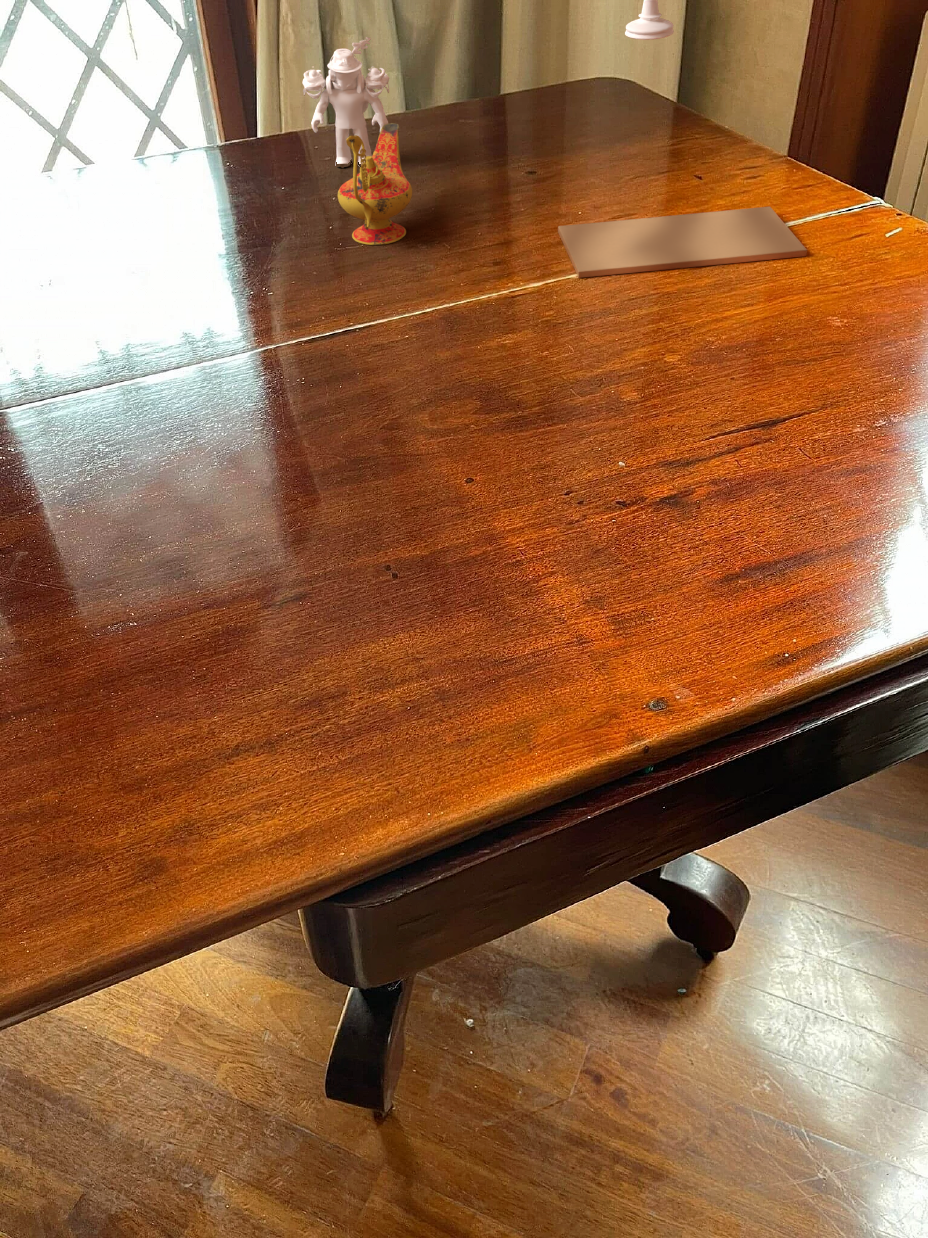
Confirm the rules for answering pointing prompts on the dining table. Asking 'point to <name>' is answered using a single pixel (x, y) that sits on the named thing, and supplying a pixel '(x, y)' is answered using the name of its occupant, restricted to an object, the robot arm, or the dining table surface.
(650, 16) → the chess piece
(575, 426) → the dining table surface
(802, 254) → the cork board
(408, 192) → the magic lamp
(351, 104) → the flower shoulder figurine
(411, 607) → the dining table surface
